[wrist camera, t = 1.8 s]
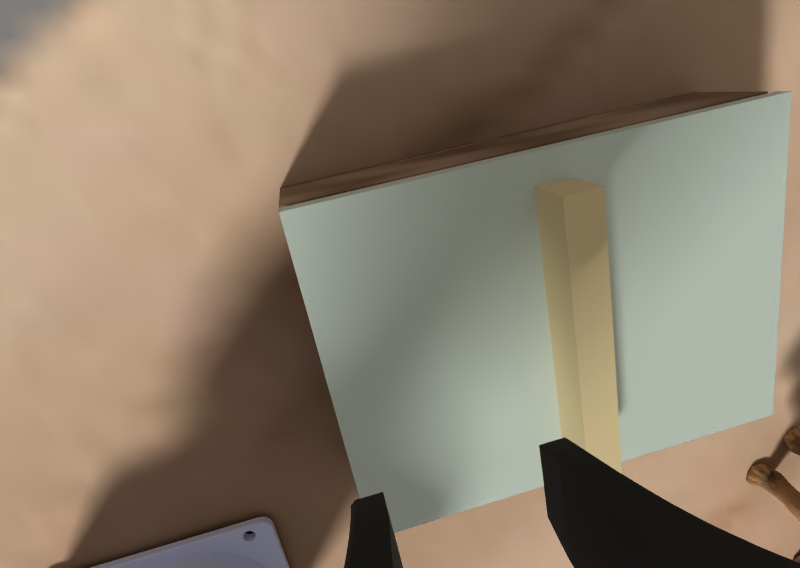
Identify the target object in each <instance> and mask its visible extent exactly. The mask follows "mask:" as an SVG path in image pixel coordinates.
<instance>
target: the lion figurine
mask: <svg viewBox="0 0 800 568" xmlns="http://www.w3.org/2000/svg"><path fill="white" fill-rule="evenodd" d="M784 439H785V442H786V444H787V446H788V447H789V448H790V449H791V451H792V452H793V453H795V454H798V455H800V427H794V428H792V429H791V430H789V431H788V432H787V433H786V434H785V437H784ZM747 482H748V483H750V484H751V485H757V486H760V487H762V488H764V489H765V490H767V491H768V492H770V493H771V494H773V495H774V496H775V497H777V498H778V499H779V500H780V501H781V502H782V503H784V504H785V506H786V507H787V508H788V510H789V511H790V512H791V513H792V514H793V515H794V516H795V517H796V518H797V519H798V520H799V521H800V492H798V491H797V490H796V489H795V488H794V487H793V486H792V485H791V484H790V483H789V482H788V481H787V480H786V479H785V478H784V476H783V475H782V474H781V473H779V472H778V471H776V470H773V469H770V468H769V467H768V466H767V465H765V464H761V463H758V464H756V465H754V466H752V467H751V469H750V470H749V472H748V476H747ZM794 561H796V562H799V563H800V555H799V556H798V557H797V558H795V559H794Z"/></svg>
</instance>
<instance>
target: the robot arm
mask: <svg viewBox="0 0 800 568" xmlns="http://www.w3.org/2000/svg"><path fill="white" fill-rule="evenodd" d="M539 450H540V458H541V465H542V473H543V481H544V489H545V497H546V505H547V513H548V518H549V520H550V522H551V524H552V526H553V528H554V530H555V532H556V534H557V536H558V538H559V540H560V542H561V544H562V546H563V548H564V550H565V552H566V554H567V556H568V558H569V560H570V562H571V563H572V565H573V566H574V568H800V563H799V562H796V561H793V560H791V559H788V558H786V557H783V556H780V555H778V554H776V553H773V552H771V551H768V550H766V549H764V548H761V547H759V546H757V545H754V544H752V543H750V542H748V541H746V540H743V539H741V538H739V537H737V536H735V535H732V534H730V533H728V532H726V531H724V530H721V529H719V528H717V527H715V526H713V525H711V524H709V523H707V522H705V521H703V520H701V519H699V518H697V517H696V516H694V515H692V514H690V513H688V512H686V511H684V510H682V509H681V508H679V507H677V506H675V505H673V504H671V503H670V502H668V501H666V500H664V499H663V498H661V497H659V496H657V495H656V494H654V493H652V492H651V491H649V490H647V489H646V488H644V487H642V486H641V485H639V484H637V483H636V482H634V481H632V480H631V479H629V478H628V477H626V476H624V475H623V474H621V473H620V472H618V471H616V470H615V469H613V468H612V467H610V466H609V465H607V464H606V463H604V462H602V461H601V460H599V459H598V458H596V457H595V456H593V455H592V454H590V453H589V452H587V451H586V450H584V449H583V448H581V447H580V446H578V445H577V444H575V443H573V442H572V441H570V440H569V439H567V438H565V437H564V438H561V439H558V440H554V441H551V442H548V443H544V444H541V445H539ZM247 531H252V532H254V533H252V534H246V533H245V532H247ZM91 568H289V565H288V562H287V559H286V557H285V554H284V551H283V548H282V546H281V543H280V540H279V537H278V535H277V532H276V529H275V526H274V523H273V522H272V520H271V519H269V518H268V517H258V518H254V519H251V520H248V521H244V522H241V523H238V524H234V525H231V526H228V527H224V528H221V529H218V530H214V531H211V532H208V533H204V534H201V535H197V536H194V537H191V538H187V539H184V540H181V541H177V542H174V543H171V544H167V545H164V546H161V547H157V548H154V549H151V550H147V551H144V552H141V553H137V554H134V555H131V556H127V557H124V558H121V559H117V560H114V561H111V562H107V563H104V564H101V565H97V566H94V567H91ZM344 568H403V566H402V562H401V558H400V554H399V551H398V547H397V543H396V539H395V535H394V531H393V528H392V524H391V520H390V516H389V512H388V509H387V505H386V501H385V497H384V493H383V492H380V493H377V494H374V495H370V496H367V497H364V498H360V499H357V500H355V501H354V502H353V504H352V505H351V523H350V534H349V541H348V548H347V554H346V560H345V565H344Z"/></svg>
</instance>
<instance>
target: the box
mask: <svg viewBox="0 0 800 568" xmlns="http://www.w3.org/2000/svg"><path fill="white" fill-rule="evenodd" d="M767 93H768V92H694V93H689V94H685V95H681V96H676V97H672V98H668V99H663V100H659V101H655V102H650V103H646V104H642V105H637V106H633V107H629V108H624V109H620V110H616V111H611V112H607V113H603V114H598V115H594V116H590V117H585V118H581V119H577V120H572V121H568V122H564V123H559V124H555V125H551V126H546V127H542V128H538V129H533V130H529V131H525V132H520V133H516V134H512V135H507V136H503V137H499V138H494V139H490V140H486V141H481V142H477V143H473V144H468V145H464V146H460V147H455V148H451V149H447V150H442V151H438V152H434V153H429V154H425V155H421V156H416V157H412V158H408V159H403V160H399V161H395V162H390V163H386V164H382V165H377V166H373V167H369V168H364V169H360V170H356V171H351V172H347V173H343V174H338V175H334V176H330V177H325V178H321V179H316V180H312V181H308V182H303V183H299V184H295V185H290V186H286V187H282V188H280V200H279V208H282V207H286V206H290V205H294V204H299V203H303V202H307V201H311V200H316V199H320V198H324V197H328V196H333V195H337V194H341V193H345V192H350V191H354V190H358V189H362V188H367V187H371V186H375V185H379V184H384V183H388V182H392V181H397V180H401V179H405V178H409V177H414V176H418V175H422V174H426V173H431V172H435V171H439V170H443V169H448V168H452V167H456V166H460V165H465V164H469V163H473V162H477V161H482V160H486V159H490V158H494V157H499V156H503V155H507V154H511V153H516V152H520V151H524V150H529V149H533V148H537V147H541V146H546V145H550V144H554V143H558V142H563V141H567V140H571V139H575V138H580V137H584V136H588V135H592V134H597V133H601V132H605V131H609V130H614V129H618V128H622V127H626V126H631V125H635V124H639V123H643V122H648V121H652V120H656V119H661V118H665V117H669V116H673V115H678V114H682V113H686V112H690V111H695V110H699V109H703V108H707V107H712V106H716V105H720V104H724V103H729V102H733V101H737V100H741V99H746V98H750V97H754V96H758V95H763V94H767Z"/></svg>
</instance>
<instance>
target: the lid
mask: <svg viewBox="0 0 800 568" xmlns="http://www.w3.org/2000/svg"><path fill="white" fill-rule="evenodd" d="M791 93H792V91H777V92H771V93H767V94H763V95H758V96H754V97H750V98H746V99H741V100H737V101H733V102H729V103H724V104H720V105H716V106H712V107H707V108H703V109H699V110H695V111H690V112H686V113H682V114H678V115H673V116H669V117H665V118H661V119H656V120H652V121H648V122H643V123H639V124H635V125H631V126H626V127H622V128H618V129H614V130H609V131H605V132H601V133H597V134H592V135H588V136H584V137H580V138H575V139H571V140H567V141H563V142H558V143H554V144H550V145H546V146H541V147H537V148H533V149H529V150H524V151H520V152H516V153H511V154H507V155H503V156H499V157H494V158H490V159H486V160H482V161H477V162H473V163H469V164H465V165H460V166H456V167H452V168H448V169H443V170H439V171H435V172H431V173H426V174H422V175H418V176H414V177H409V178H405V179H401V180H397V181H392V182H388V183H384V184H379V185H375V186H371V187H367V188H362V189H358V190H354V191H350V192H345V193H341V194H337V195H333V196H328V197H324V198H320V199H316V200H311V201H307V202H303V203H299V204H294V205H290V206H286V207H282V208H279V215H280V219H281V222H282V226H283V229H284V233H285V236H286V240H287V243H288V247H289V250H290V254H291V258H292V261H293V265H294V268H295V272H296V275H297V279H298V282H299V286H300V289H301V293H302V296H303V300H304V304H305V307H306V311H307V314H308V318H309V321H310V325H311V328H312V332H313V335H314V339H315V342H316V346H317V349H318V353H319V357H320V360H321V364H322V367H323V371H324V374H325V378H326V381H327V385H328V388H329V392H330V395H331V399H332V403H333V406H334V410H335V413H336V417H337V420H338V424H339V427H340V431H341V434H342V438H343V441H344V445H345V448H346V452H347V456H348V459H349V463H350V466H351V470H352V473H353V477H354V480H355V484H356V487H357V491H358V494H359V498H364V497H367V496H370V495H374V494H377V493H380V492H383V493H384V497H385V501H386V505H387V509H388V512H389V516H390V520H391V524H392V528H393V531H394V533H395V532H398V531H401V530H405V529H408V528H411V527H414V526H417V525H421V524H424V523H427V522H430V521H434V520H437V519H440V518H443V517H446V516H450V515H453V514H456V513H459V512H462V511H466V510H469V509H472V508H475V507H478V506H482V505H485V504H488V503H491V502H494V501H498V500H501V499H504V498H507V497H511V496H514V495H517V494H520V493H523V492H527V491H530V490H533V489H536V488H539V487H543V486H544V481H543V473H542V465H541V458H540V450H539V445H541V444H544V443H548V442H551V441H554V440H558V439H561V438H564V437H565V438H567V439H569V440H570V441H572V442H573V443H575V444H577V445H578V446H580V447H581V448H583V449H584V450H586V451H587V452H589V453H590V454H592V455H593V456H595V457H596V458H598V459H599V460H601V461H602V462H604V463H606V464H607V465H609V466H610V467H612V468H613V469H615V470H616V471H618V472H620V473H621V474H622V462H623V461H626V460H629V459H632V458H636V457H639V456H642V455H645V454H649V453H652V452H655V451H658V450H661V449H665V448H668V447H671V446H674V445H677V444H681V443H684V442H687V441H690V440H693V439H697V438H700V437H703V436H706V435H709V434H713V433H716V432H719V431H722V430H726V429H729V428H732V427H735V426H738V425H742V424H745V423H748V422H751V421H754V420H758V419H761V418H764V417H767V416H770V415H773V403H774V386H775V368H776V351H777V334H778V317H779V300H780V282H781V265H782V248H783V231H784V213H785V196H786V179H787V162H788V145H789V127H790V110H791Z"/></svg>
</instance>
